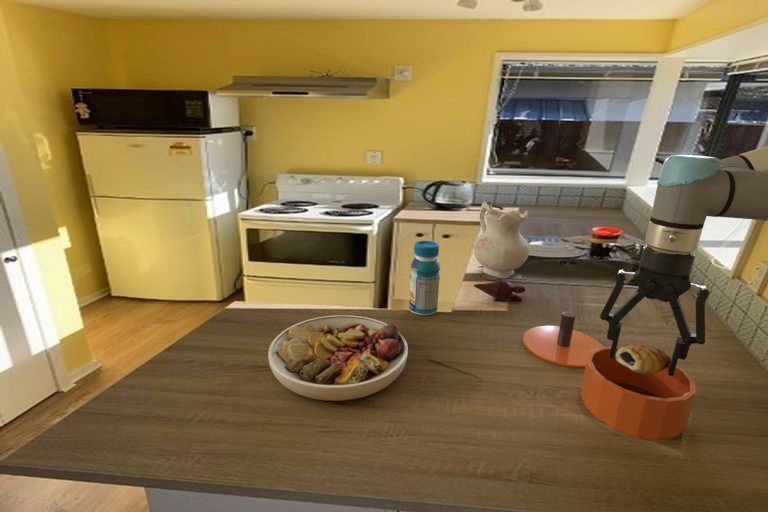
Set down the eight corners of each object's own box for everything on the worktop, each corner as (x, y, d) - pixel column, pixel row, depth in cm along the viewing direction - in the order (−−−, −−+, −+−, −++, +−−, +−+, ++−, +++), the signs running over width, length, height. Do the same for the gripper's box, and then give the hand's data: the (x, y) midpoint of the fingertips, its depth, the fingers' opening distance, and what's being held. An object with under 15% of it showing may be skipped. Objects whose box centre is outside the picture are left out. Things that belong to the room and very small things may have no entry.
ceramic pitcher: (456, 270, 157) (458, 205, 148) (487, 256, 169) (490, 195, 160) (507, 288, 142) (513, 217, 133) (537, 271, 154) (544, 204, 145)
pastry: (649, 352, 84) (654, 335, 82) (680, 371, 77) (685, 353, 76) (610, 358, 81) (614, 340, 80) (638, 378, 75) (643, 360, 74)
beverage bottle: (426, 319, 116) (430, 250, 110) (402, 310, 122) (405, 243, 115) (443, 309, 123) (448, 243, 116) (419, 301, 128) (423, 237, 121)
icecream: (474, 283, 126) (526, 293, 122) (476, 269, 132) (526, 279, 128) (470, 301, 129) (521, 311, 126) (473, 287, 135) (521, 296, 132)
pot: (684, 402, 85) (695, 365, 82) (683, 456, 71) (696, 414, 68) (589, 372, 94) (596, 338, 91) (572, 415, 80) (579, 376, 78)
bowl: (286, 427, 75) (283, 389, 73) (259, 346, 101) (257, 316, 99) (432, 387, 87) (434, 354, 85) (375, 324, 113) (375, 297, 111)
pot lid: (610, 344, 106) (618, 310, 103) (598, 380, 91) (606, 342, 88) (534, 323, 116) (539, 292, 113) (512, 352, 101) (517, 317, 98)
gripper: (596, 241, 75) (575, 353, 82) (753, 268, 63) (712, 395, 71) (603, 233, 81) (582, 337, 88) (748, 255, 69) (710, 374, 76)
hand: (640, 363), depth 79 cm, fingers closed on pastry, 9 cm apart
